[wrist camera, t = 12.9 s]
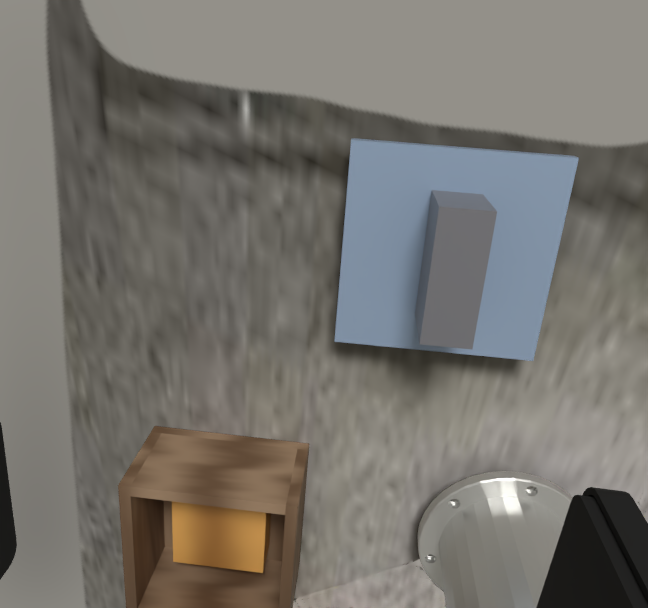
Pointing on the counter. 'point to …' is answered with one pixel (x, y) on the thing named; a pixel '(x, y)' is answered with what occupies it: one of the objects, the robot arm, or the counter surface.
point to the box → (212, 521)
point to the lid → (450, 247)
